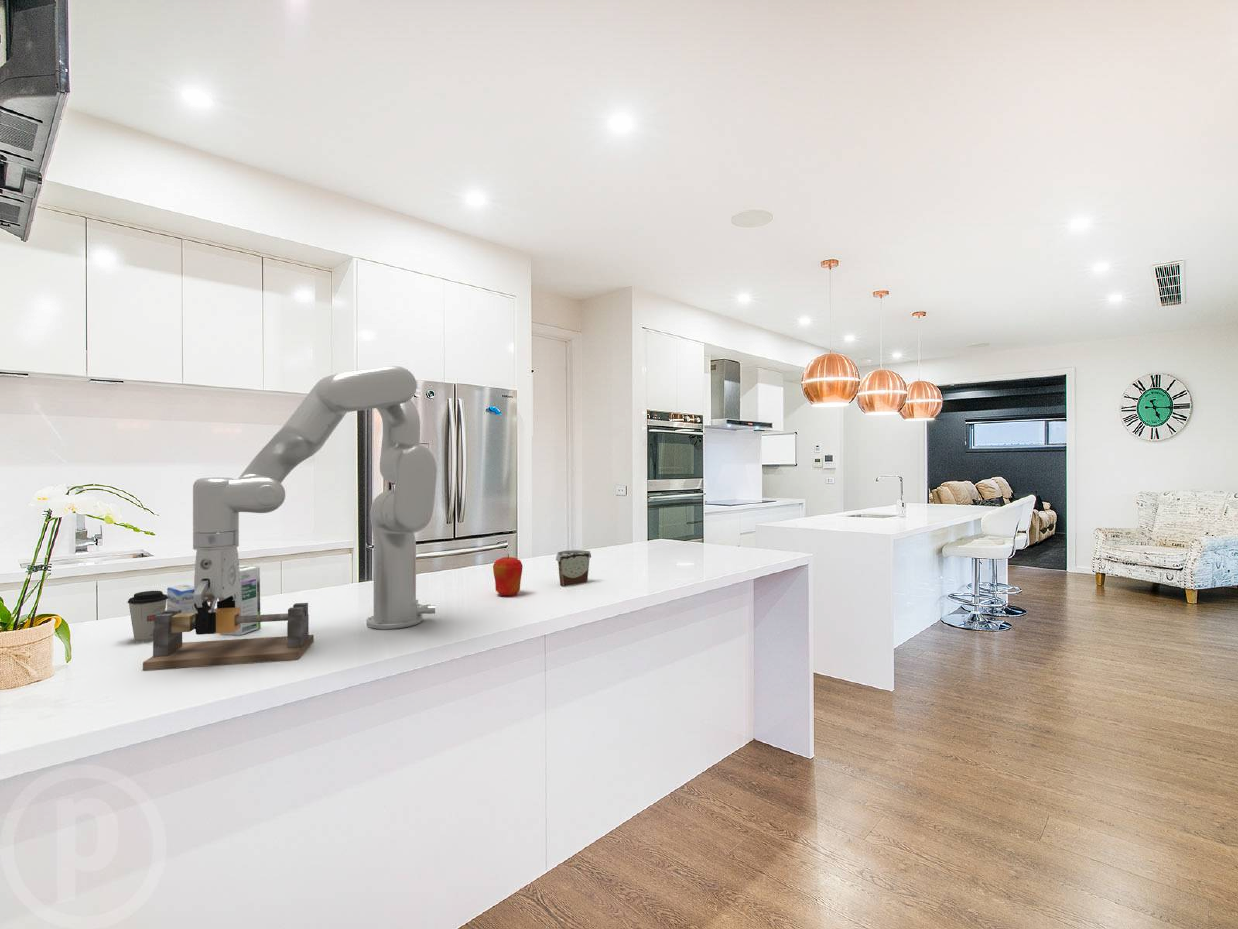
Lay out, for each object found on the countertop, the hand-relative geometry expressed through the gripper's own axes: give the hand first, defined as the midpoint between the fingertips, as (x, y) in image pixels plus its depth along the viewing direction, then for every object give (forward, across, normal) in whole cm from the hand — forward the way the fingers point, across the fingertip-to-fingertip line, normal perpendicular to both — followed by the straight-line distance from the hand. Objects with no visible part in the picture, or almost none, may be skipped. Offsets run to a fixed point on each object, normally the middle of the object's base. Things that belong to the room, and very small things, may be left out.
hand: (216, 626), depth 119 cm
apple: (+6, +42, -59) cm, 73 cm away
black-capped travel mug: (+6, +16, +19) cm, 25 cm away
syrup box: (+6, +18, +2) cm, 19 cm away
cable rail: (+6, 0, -3) cm, 7 cm away
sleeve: (+1, 0, -1) cm, 1 cm away
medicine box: (+6, +28, +17) cm, 33 cm away
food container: (+6, +54, -79) cm, 96 cm away
